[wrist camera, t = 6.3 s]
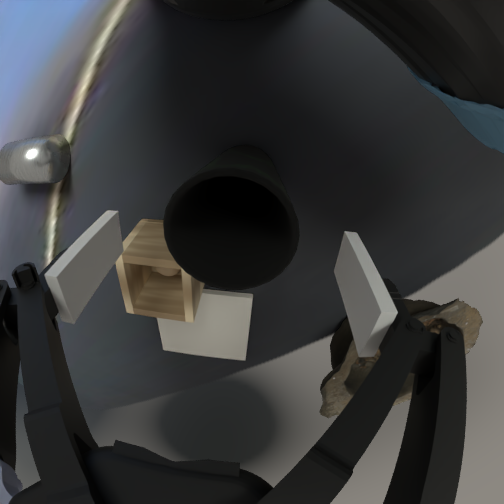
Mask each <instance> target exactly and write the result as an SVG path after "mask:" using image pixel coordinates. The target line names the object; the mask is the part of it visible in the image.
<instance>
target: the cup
mask: <svg viewBox="0 0 504 504" xmlns="http://www.w3.org/2000/svg"><path fill="white" fill-rule="evenodd" d="M163 228H164V238H165V241H166V244H167V247H168V250H169V252H170V253H171V255H172V257H173V258H174V260H175V261H176V263H177V264H178V265H179V266H180V267H181V268H182V269H183V270H184V271H185V272H186V273H187V274H189V275H190V276H192V277H193V278H195V279H196V280H198V281H200V282H202V283H205V284H207V285H209V286H212V287H216V288H221V289H226V290H243V289H248V288H254V287H257V286H260V285H262V284H265V283H267V282H269V281H271V280H272V279H274V278H275V277H276V276H278V275H279V274H281V273H282V272H283V270H284V269H285V268H286V267H287V266H288V265H289V264H290V262H291V260H292V258H293V256H294V254H295V252H296V250H297V246H298V241H299V224H298V219H297V216H296V213H295V211H294V208H293V205H292V203H291V201H290V199H289V197H288V194H287V192H286V190H285V188H284V186H283V184H282V182H281V180H280V177H279V175H278V173H277V171H276V169H275V167H274V165H273V163H272V161H271V159H270V158H269V157H268V155H267V154H266V153H264V152H263V151H262V150H260V149H258V148H256V147H254V146H249V145H239V146H235V147H232V148H230V149H229V150H227V151H225V152H224V153H223V154H221V155H220V156H218V157H217V158H216V159H214V160H213V161H212V162H210V163H209V164H208V165H206V166H205V167H204V168H203V169H201V170H200V171H199V172H197V173H196V174H195V175H194V176H192V177H191V178H190V179H188V180H187V181H186V182H185V183H184V184H183V185H182V186H181V187H180V188H179V189H178V190H177V191H176V192H175V193H174V194H173V196H172V198H171V200H170V201H169V203H168V205H167V207H166V211H165V216H164V220H163Z"/></svg>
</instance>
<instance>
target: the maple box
mask: <svg viewBox="0 0 504 504" xmlns="http://www.w3.org/2000/svg"><path fill="white" fill-rule="evenodd" d="M123 249H124V251H123V253H122V254H121V255H120V257H119V258H118V259H117V261H116V262H115V263H116V268H117V272H118V277H119V281H120V286H121V290H122V294H123V298H124V302H125V306H126V310H127V313H132V314H138V315H144V316H150V317H156V318H163V319H169V320H176V321H183V322H191V323H194V320H195V316H196V313H197V309H198V305H199V302H200V298H201V295H202V291H203V287H204V284H205V283H202V282H200V281H198V280H196V279H195V278H193V277H192V276H190V275H189V274H187V273H186V272H185V271H184V270H183V269H182V268H181V267H180V266H179V265H178V264H177V263H176V261H175V260H174V258H173V257H172V255H171V253H170V252H169V250H168V247H167V244H166V241H165V238H164V228H163V220H155V219H141V220H140V222H139V223H138V224H137V225H136V226H135V228H134V229H133V230H132V231H131V233H130V234H129V235H128V236H127V238H126V239H125V240H124V241H123ZM155 267H164V268H172V269H181V270H180V271H179V272H178V273H177V274H175V275H173V276H164V275H162V274H160V273H159V272H158V271H157V269H156V268H155Z"/></svg>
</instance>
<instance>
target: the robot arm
mask: <svg viewBox="0 0 504 504" xmlns="http://www.w3.org/2000/svg"><path fill="white" fill-rule="evenodd" d="M163 1H164V2H165V3H167V4H168V5H169V6H171V7H172V8H174V9H176V10H178V11H180V12H182V13H185V14H187V15H190V16H194V17H198V18H203V19H210V20H238V19H245V18H251V17H255V16H259V15H263V14H266V13H269V12H272V11H274V10H276V9H279V8H281V7H283V6H285V5H286V4H288V3H290V2H291V1H293V0H163ZM328 1H330V2H332V3H333V4H334V5H336V6H337V7H339V8H340V9H342V10H343V11H345V12H346V13H347V14H349V15H350V16H351V17H353V18H354V19H355V20H357V21H358V22H359V23H361V24H362V25H363V26H364V27H366V28H367V29H368V30H369V31H371V32H372V33H373V34H374V35H375V36H376V37H378V38H379V39H380V40H381V41H382V42H383V43H384V44H385V45H387V46H388V47H389V48H390V49H391V50H392V51H393V52H394V53H395V54H396V55H397V56H398V57H399V58H400V59H401V60H402V61H403V62H404V63H405V64H406V65H407V68H408V69H409V71H410V72H411V74H412V75H413V76H414V77H415V78H416V80H417V81H418V82H419V83H420V84H421V85H422V86H423V87H425V88H426V89H427V90H428V91H430V92H431V93H433V94H434V95H436V96H437V97H439V98H440V99H441V101H442V102H443V103H444V104H445V105H446V106H447V107H448V108H449V109H450V111H451V112H452V113H453V114H454V115H455V117H456V118H457V119H458V120H459V122H460V123H461V124H462V125H463V126H464V127H465V128H466V129H467V130H468V131H469V132H470V133H471V134H472V135H473V136H474V137H475V138H477V139H478V140H479V141H480V142H482V143H483V144H484V145H486V146H487V147H489V148H492V149H496V150H498V151H500V152H501V153H503V154H504V0H328ZM123 251H124V249H123V243H122V236H121V229H120V222H119V214H118V211H109V210H107V211H106V212H105V213H104V214H103V215H102V216H101V217H100V218H99V219H98V220H97V221H96V222H94V223H93V224H92V225H91V226H90V227H89V228H88V229H87V230H86V231H85V232H84V233H83V234H82V235H81V236H80V237H79V238H78V239H77V240H76V241H75V242H74V243H73V244H72V245H71V246H70V247H69V248H67V249H65V250H63V251H62V252H60V253H59V254H58V255H57V256H56V257H55V258H54V260H52V261H51V262H50V264H49V265H48V266H47V267H46V268H45V269H44V270H43V271H42V272H41V274H40V275H39V276H38V273H37V270H36V267H35V265H34V264H33V263H30V262H27V263H23V264H21V265H19V266H18V267H16V268H15V269H14V270H13V272H12V276H13V279H14V282H15V284H16V286H17V288H9V285H8V283H7V281H5V280H0V504H330V503H331V502H332V500H333V499H334V498H335V497H336V496H337V494H338V493H339V492H340V491H341V489H342V488H343V487H344V485H345V484H346V483H347V481H348V480H349V478H350V477H351V475H352V473H353V468H354V467H355V465H356V464H357V462H358V461H359V459H360V458H361V456H362V455H363V453H364V452H365V451H366V449H367V447H368V446H369V444H370V443H371V441H372V440H373V438H374V436H375V435H376V433H377V432H378V430H379V428H380V427H381V425H382V423H383V422H384V420H385V418H386V417H387V415H388V413H389V411H390V410H391V408H392V406H393V404H394V402H395V400H396V398H397V397H398V395H399V393H400V391H401V389H402V387H403V385H404V383H405V381H406V379H407V377H408V375H409V373H413V374H415V376H414V383H413V390H412V396H411V402H410V407H409V413H408V418H407V422H406V427H405V431H404V436H403V440H402V444H401V448H400V452H399V456H398V459H397V463H396V466H395V470H394V473H393V476H392V479H391V482H390V485H389V488H388V491H387V494H386V497H385V500H384V502H383V504H454V502H455V498H456V493H457V488H458V482H459V477H460V471H461V465H462V457H463V449H464V439H465V426H466V402H467V400H466V399H467V393H466V392H467V388H466V387H467V386H466V384H467V382H466V358H465V344H464V339H463V336H462V335H461V333H460V332H459V331H458V330H456V329H454V328H452V327H444V328H443V329H442V330H441V332H440V333H439V334H437V333H433V332H429V331H426V328H425V325H424V324H423V323H422V322H421V321H420V320H418V319H416V318H414V317H411V315H410V313H409V311H408V309H407V307H406V305H405V303H404V301H403V299H402V297H401V295H400V294H399V292H398V290H397V288H396V286H395V285H394V284H393V283H392V282H391V281H390V280H389V279H383V278H381V277H380V275H379V273H378V271H377V269H376V267H375V265H374V263H373V261H372V259H371V257H370V256H369V254H368V252H367V250H366V248H365V246H364V244H363V243H362V241H361V239H360V237H359V236H358V234H357V233H356V232H348V231H344V235H343V239H342V243H341V247H340V250H339V254H338V258H337V261H336V265H335V268H334V274H335V277H336V280H337V283H338V286H339V289H340V293H341V296H342V299H343V303H344V306H345V309H346V313H347V316H348V320H349V323H350V327H351V330H352V334H353V337H354V341H355V345H356V348H357V352H358V356H359V357H374V356H375V354H376V352H377V350H378V349H379V350H380V353H381V355H380V357H379V358H378V360H377V361H376V363H375V365H374V366H373V368H372V369H371V371H370V372H369V374H368V375H367V377H366V378H365V380H364V381H363V383H362V384H361V386H360V387H359V388H358V390H357V391H356V393H355V394H354V396H353V397H352V398H351V400H350V401H349V402H348V404H347V405H346V406H345V408H344V409H343V410H342V412H341V413H340V414H339V416H338V417H337V418H336V420H335V421H334V422H333V423H332V425H331V426H330V427H329V429H328V430H327V431H326V432H325V433H324V435H323V436H322V437H321V438H320V439H319V440H318V442H317V443H316V444H315V445H314V446H313V447H312V448H311V449H310V450H309V452H308V453H307V454H306V455H305V456H304V457H303V458H302V459H301V460H300V461H299V462H298V464H297V465H296V466H295V467H294V468H293V469H292V470H291V471H290V472H289V473H288V474H287V475H286V476H285V477H284V478H283V479H282V480H281V481H280V482H279V483H278V484H277V485H276V486H275V487H274V488H273V487H272V486H271V485H270V484H269V483H267V482H266V481H265V480H263V479H262V478H261V477H259V476H257V475H255V474H253V473H251V472H248V471H246V470H243V469H240V463H235V462H224V461H215V460H198V461H197V460H196V461H180V462H175V461H171V460H168V459H166V458H164V457H162V456H160V455H158V454H156V453H154V452H151V451H150V450H148V449H145V448H143V447H139V446H136V445H132V444H128V443H125V442H121V441H118V440H115V443H114V446H104V447H98V445H97V443H96V442H95V441H94V439H93V437H92V435H91V433H90V431H89V428H88V426H87V423H86V421H85V418H84V415H83V413H82V410H81V407H80V404H79V401H78V398H77V395H76V392H75V389H74V386H73V383H72V380H71V376H70V373H69V369H68V366H67V362H66V358H65V355H64V351H63V346H62V342H61V338H60V333H59V328H58V324H57V321H56V318H55V316H56V315H57V313H58V312H59V314H60V316H61V319H62V321H65V322H69V323H73V324H75V322H76V320H77V319H78V317H79V316H80V314H81V312H82V311H83V309H84V308H85V306H86V305H87V303H88V302H89V300H90V298H91V297H92V295H93V294H94V292H95V291H96V289H97V288H98V286H99V285H100V284H101V282H102V281H103V279H104V278H105V276H106V275H107V273H108V272H109V271H110V269H111V268H112V266H113V265H114V264H115V262H116V261H117V259H118V258H119V257H120V255H121V254H122V253H123ZM20 360H21V369H22V376H23V383H24V389H25V395H26V400H27V405H28V414H25V415H24V423H25V428H26V432H27V436H28V440H29V444H30V448H31V451H32V454H33V458H34V461H35V464H36V467H37V470H38V473H39V476H40V479H41V480H40V481H39V482H37V483H35V484H33V485H31V486H30V487H28V488H26V489H24V490H22V487H23V486H22V483H21V481H20V480H19V479H18V478H17V475H16V473H15V465H16V429H15V428H16V397H17V384H18V374H19V366H20ZM21 490H22V491H21Z"/></svg>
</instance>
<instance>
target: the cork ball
mask: <svg viewBox="0 0 504 504" xmlns="http://www.w3.org/2000/svg"><path fill="white" fill-rule="evenodd" d="M155 268H156V269H157V271H158V272H159V273H160V274H162V275H164V276H173V275H175V274H177V273H178V272H179V271H180V270H181V269H172V268H164V267H155Z"/></svg>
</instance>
